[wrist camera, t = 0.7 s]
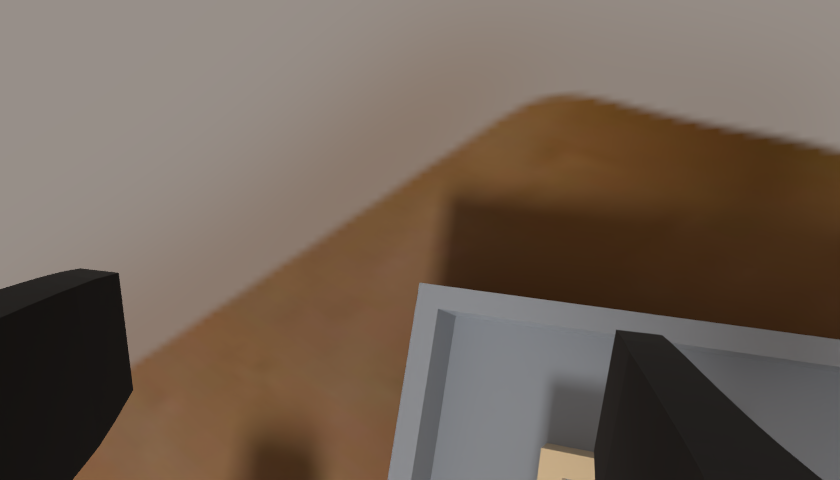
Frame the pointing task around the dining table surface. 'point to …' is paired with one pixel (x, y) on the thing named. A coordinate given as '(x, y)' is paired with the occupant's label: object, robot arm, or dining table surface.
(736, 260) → the dining table surface
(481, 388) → the box
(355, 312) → the dining table surface
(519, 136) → the dining table surface
